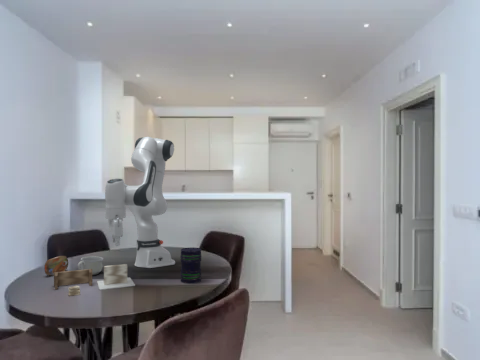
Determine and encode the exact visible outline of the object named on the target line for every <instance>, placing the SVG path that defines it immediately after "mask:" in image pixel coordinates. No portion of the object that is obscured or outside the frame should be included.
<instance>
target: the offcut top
mask: <svg viewBox="0 0 480 360" xmlns="http://www.w3.org/2000/svg"><path fill="white" fill-rule="evenodd" d="M67 290H68V292H69V291H71V292H72V291H77V290H80V291H81V288H80V286H79V285H74V286H68V289H67Z"/></svg>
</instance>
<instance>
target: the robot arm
mask: <svg viewBox="0 0 480 360" xmlns="http://www.w3.org/2000/svg"><path fill="white" fill-rule="evenodd" d="M174 152H175V145H174V142H173V141H172V140H169V139H163V138H159V137H158V138H157V137H152V136H144V137H139V138H137V139H136V140H135V143H134V150H133V152H132V154H131V158H130V159H131V164H132V166H133V167H134V168H135V169H136V170H138V171H140V172H142V173H143V179H142V183H140V184H139V185H128V184H126V183H125V181H124V179H123V178H112V179H109V180H107V181H106V184H105V188H104V190H105V191H104V200H105V208H104V210H105V211H104V212H105V214H104V215H105V216H104V217H105V220H106V219H107V221H108V222H107V223H108V229H109V232H110V233H111V237H112V243H114V245H115V247H120V245H121V244H120V243H121V238H122V237H123V236H124V232H123V231H124V230H123V229H124V228H123V221H124V220H123V219H125V218H127V217H126V216H127V213H126V209H127V208H126V206H128V210H129V211H130V212H131V213H132V214H133V217H134V219H135V222H136V227H137V228H136V229H137V239H136V245H135V246H136V248H135V249H136V257H135V262H134V266H135V267H138V268H147V269H151V268H152V269H153V268H160V267H167V266H173V265H175V264H176V261H175V259H172V256H171V253H170V251H169V250H167V249H166V248H165V247H163V246H162V245H163V244H164V240H161V239H159V238H158V232H159V231H158V227H159V226H158V224H157V223H156V222H155V220H154V219H153V217H154V216H155V217H157V216H161V215H163V214H165V213H166V212H167V210H168V203H167V200H166V199H165V197H164V194H163V182H164V177H165V172H166V162H167V161H168V160H170V158H172V156H173V155H174Z"/></svg>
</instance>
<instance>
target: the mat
mask: <svg viewBox="0 0 480 360" xmlns="http://www.w3.org/2000/svg"><path fill="white" fill-rule="evenodd" d="M96 284H97V287H98V289H99V291H105V290H111V289H120V288H127V287H135V286H136V284H135V282H134V281H133V279H132V278H131V277H127V282H126V283H117V284H108V285H104V279H103V280H97V281H96Z"/></svg>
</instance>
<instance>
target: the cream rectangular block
mask: <svg viewBox="0 0 480 360" xmlns="http://www.w3.org/2000/svg"><path fill="white" fill-rule="evenodd" d="M127 278H128V264H127V263H123V264H113V265H111V264H110V265H103V280H104V285H108V284H117V283H126V282H127Z"/></svg>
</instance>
